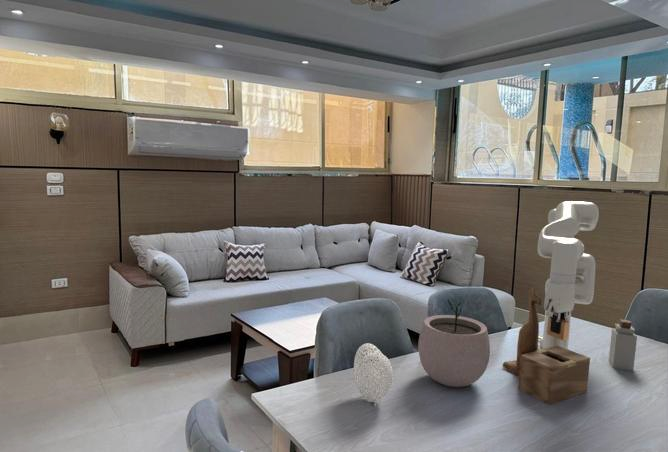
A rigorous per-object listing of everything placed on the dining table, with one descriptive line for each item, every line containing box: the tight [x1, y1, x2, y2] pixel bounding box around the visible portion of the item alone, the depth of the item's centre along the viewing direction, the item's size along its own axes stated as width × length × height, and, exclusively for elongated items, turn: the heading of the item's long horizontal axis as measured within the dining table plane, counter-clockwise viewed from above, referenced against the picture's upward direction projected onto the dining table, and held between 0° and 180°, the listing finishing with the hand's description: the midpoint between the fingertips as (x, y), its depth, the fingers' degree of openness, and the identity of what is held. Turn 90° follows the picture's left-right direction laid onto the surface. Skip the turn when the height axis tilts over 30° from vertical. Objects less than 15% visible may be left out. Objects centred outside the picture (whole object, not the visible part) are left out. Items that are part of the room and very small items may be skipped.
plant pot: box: [417, 299, 491, 388], centre depth 155 cm, size 24×24×30 cm
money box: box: [517, 346, 591, 406], centre depth 152 cm, size 12×20×12 cm, turn 120°
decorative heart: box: [353, 342, 394, 410], centre depth 140 cm, size 18×11×17 cm, turn 16°
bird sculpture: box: [502, 287, 542, 377], centre depth 164 cm, size 11×12×32 cm
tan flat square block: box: [547, 317, 571, 340], centre depth 150 cm, size 6×2×6 cm
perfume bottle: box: [608, 318, 638, 371], centre depth 174 cm, size 7×7×18 cm
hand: (557, 331), depth 150 cm, fingers closed on tan flat square block, 2 cm apart
